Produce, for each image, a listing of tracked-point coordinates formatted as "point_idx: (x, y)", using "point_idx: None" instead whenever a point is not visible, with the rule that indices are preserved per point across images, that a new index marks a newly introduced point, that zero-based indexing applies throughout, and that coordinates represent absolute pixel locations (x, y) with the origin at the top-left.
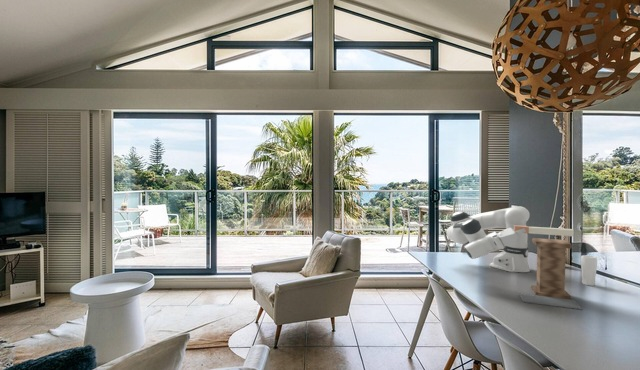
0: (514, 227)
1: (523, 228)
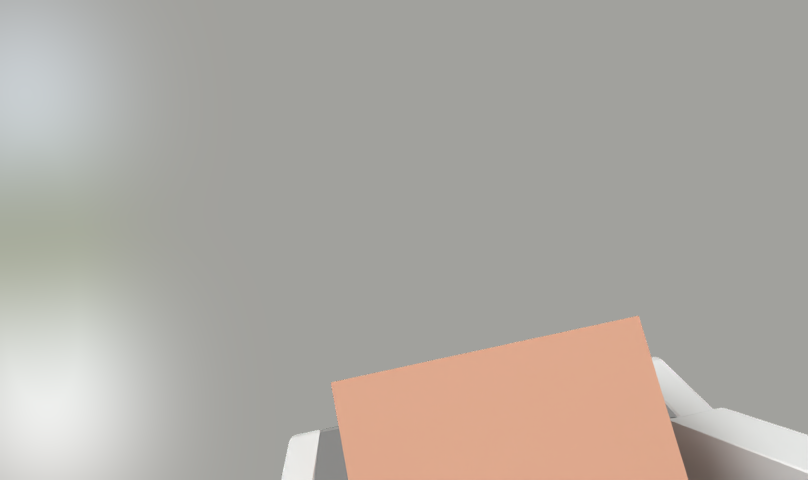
0: (540, 429)
1: (658, 360)
